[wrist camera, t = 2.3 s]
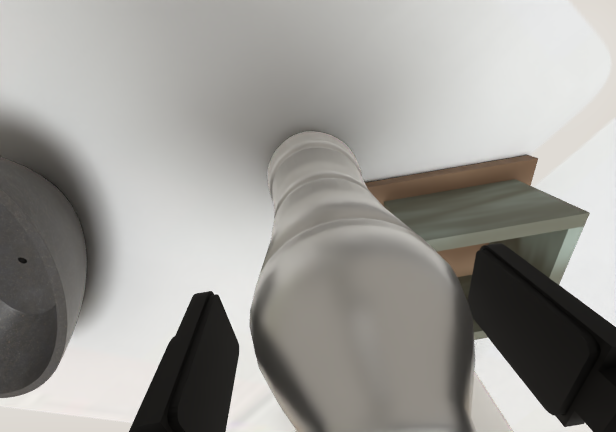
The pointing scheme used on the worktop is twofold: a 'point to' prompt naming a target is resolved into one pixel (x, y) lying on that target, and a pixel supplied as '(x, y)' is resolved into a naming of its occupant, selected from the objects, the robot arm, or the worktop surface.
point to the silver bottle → (356, 305)
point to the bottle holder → (485, 215)
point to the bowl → (36, 277)
